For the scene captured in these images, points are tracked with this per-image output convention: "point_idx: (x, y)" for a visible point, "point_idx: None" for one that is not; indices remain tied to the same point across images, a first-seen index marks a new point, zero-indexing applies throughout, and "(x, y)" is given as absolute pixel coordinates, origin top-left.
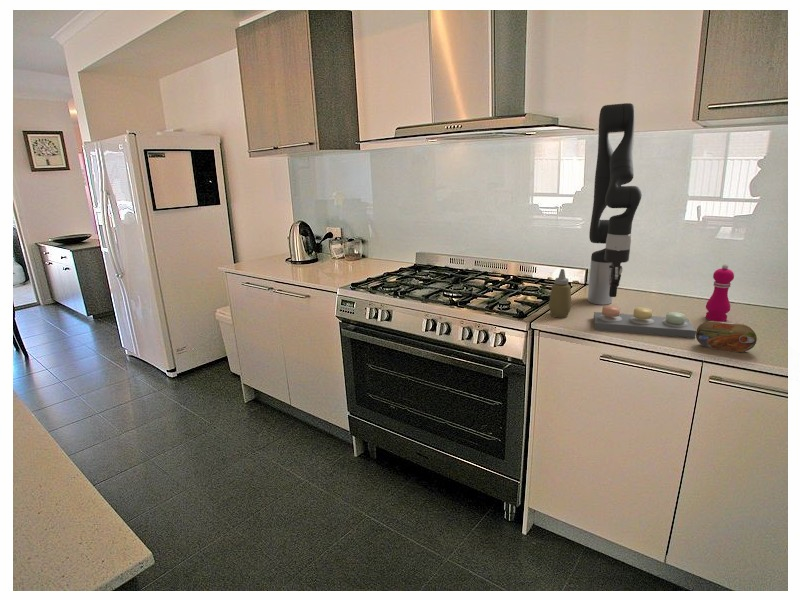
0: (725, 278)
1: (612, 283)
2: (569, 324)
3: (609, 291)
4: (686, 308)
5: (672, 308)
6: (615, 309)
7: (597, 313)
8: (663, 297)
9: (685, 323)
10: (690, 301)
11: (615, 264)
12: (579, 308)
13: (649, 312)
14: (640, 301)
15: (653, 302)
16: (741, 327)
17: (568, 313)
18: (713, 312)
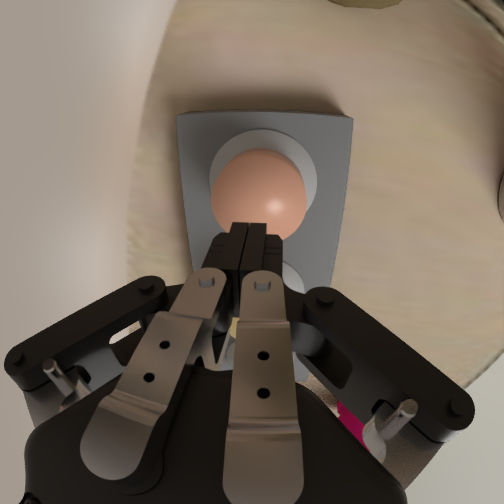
0: None
1: (107, 305)
2: (226, 11)
3: (249, 238)
4: None
5: (433, 355)
6: (232, 221)
7: (330, 131)
8: (497, 342)
9: None
10: (460, 376)
11: (29, 494)
12: (465, 88)
13: (230, 334)
14: (496, 301)
15: (480, 325)
16: None
17: (342, 4)
18: (344, 412)
